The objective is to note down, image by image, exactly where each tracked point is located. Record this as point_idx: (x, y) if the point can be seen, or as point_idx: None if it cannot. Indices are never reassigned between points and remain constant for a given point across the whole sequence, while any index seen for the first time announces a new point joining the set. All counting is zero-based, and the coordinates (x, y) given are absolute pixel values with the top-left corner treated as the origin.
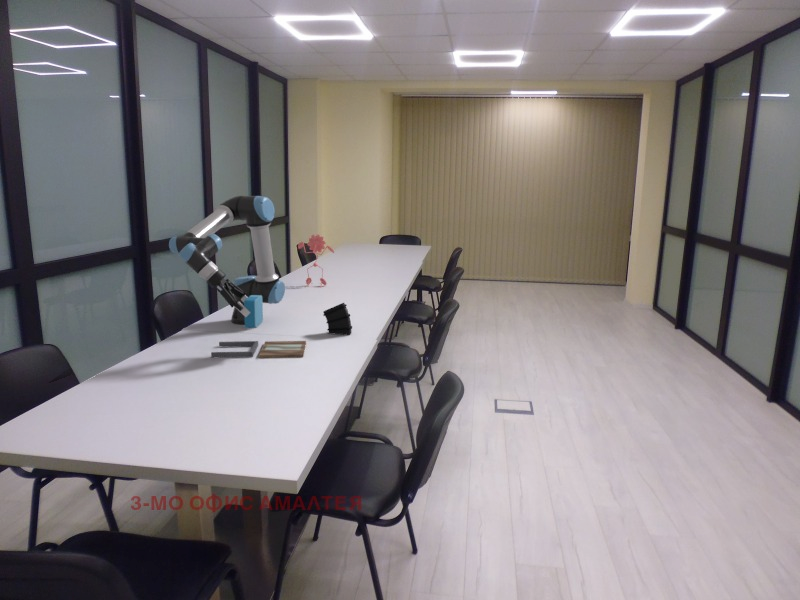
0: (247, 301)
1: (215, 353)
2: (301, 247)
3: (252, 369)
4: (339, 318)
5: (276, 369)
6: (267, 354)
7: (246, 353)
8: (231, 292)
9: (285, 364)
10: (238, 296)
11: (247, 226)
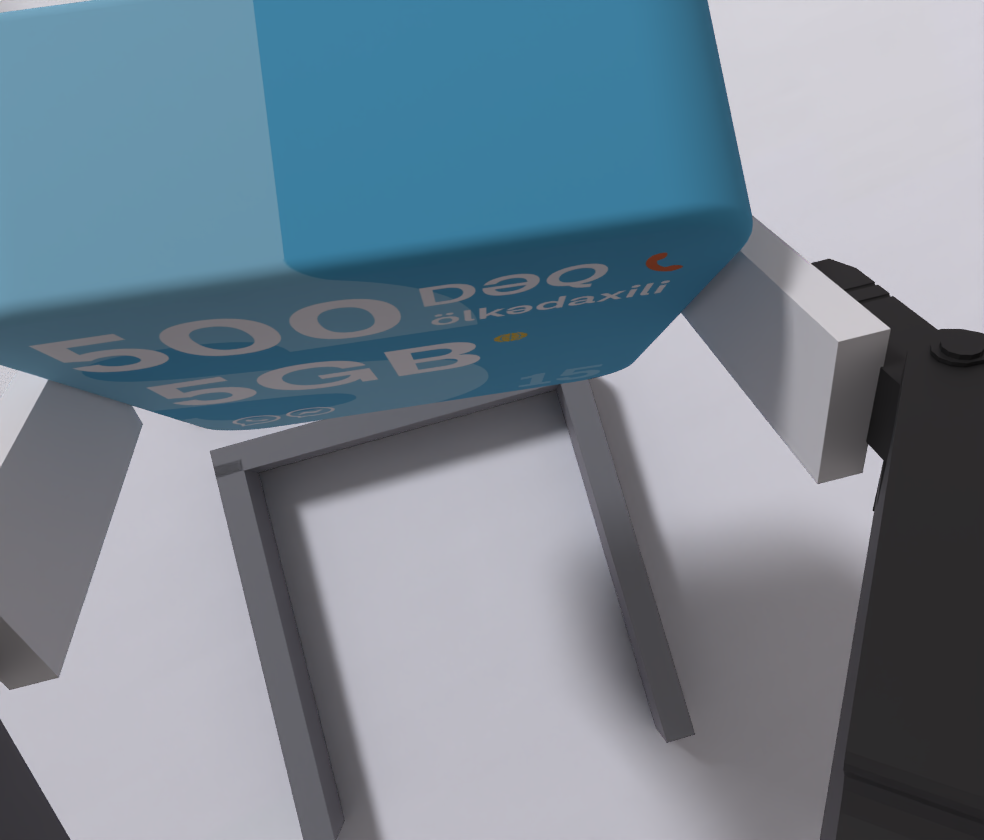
0: (729, 132)
1: (680, 690)
2: None
3: (884, 220)
4: None
5: (834, 39)
6: None
7: (592, 404)
8: (868, 690)
9: None
10: (17, 756)
11: None
